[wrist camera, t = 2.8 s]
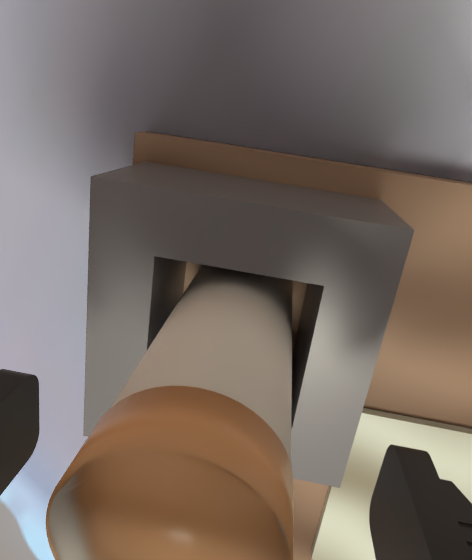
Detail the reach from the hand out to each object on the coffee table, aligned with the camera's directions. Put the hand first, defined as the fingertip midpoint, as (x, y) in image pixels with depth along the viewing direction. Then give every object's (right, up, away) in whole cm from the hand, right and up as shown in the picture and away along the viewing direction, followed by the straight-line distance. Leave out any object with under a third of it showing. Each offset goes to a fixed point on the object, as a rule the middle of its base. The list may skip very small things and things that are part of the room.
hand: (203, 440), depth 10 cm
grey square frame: (+1, +3, +8) cm, 9 cm away
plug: (+1, +3, +8) cm, 9 cm away
